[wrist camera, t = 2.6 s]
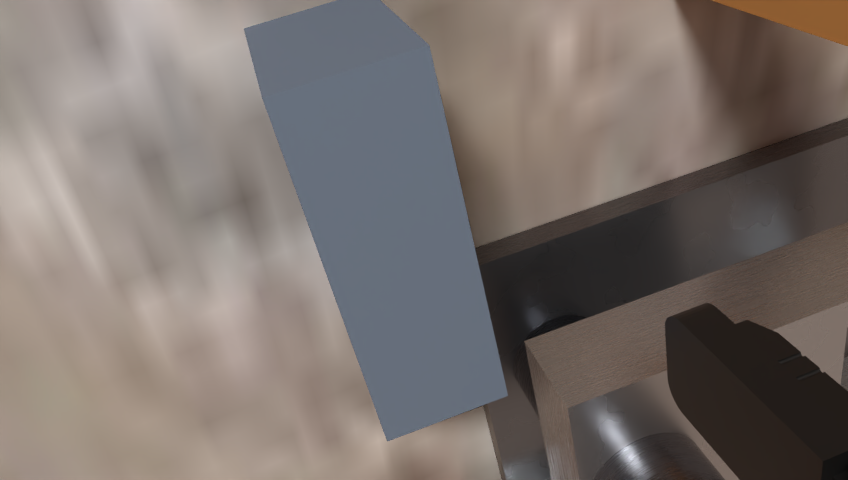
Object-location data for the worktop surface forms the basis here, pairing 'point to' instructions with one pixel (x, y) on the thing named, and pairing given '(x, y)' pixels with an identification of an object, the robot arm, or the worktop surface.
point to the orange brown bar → (801, 15)
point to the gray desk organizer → (661, 307)
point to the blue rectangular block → (382, 204)
